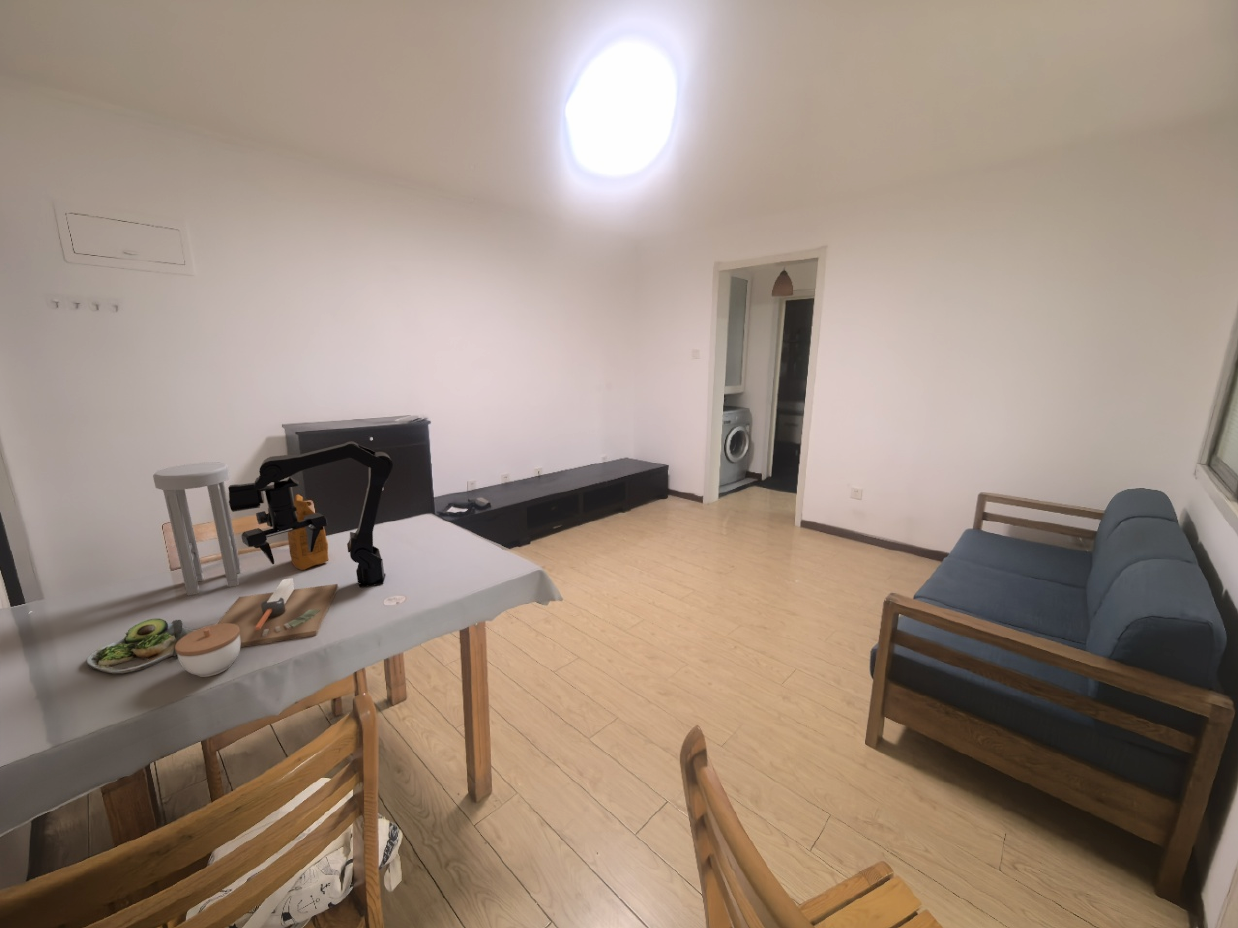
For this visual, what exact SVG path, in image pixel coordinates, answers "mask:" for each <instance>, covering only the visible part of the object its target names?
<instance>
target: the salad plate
mask: <svg viewBox="0 0 1238 928" xmlns="http://www.w3.org/2000/svg"><path fill="white" fill-rule="evenodd" d="M193 631H194V630H193V629H190V628H187V627H183V621H182V619H175V620H173V621H172V622H170V623H168V622H167V621H166V620H164V619H163V618H150V619H147V620H144V621H141V622H139V623H137V624H135V625H133V626H132V627H130V628H129V629H128V630H127V632H125V636H124V638H122V639H120V640H116V641H115V642H112V643H109V644H107V645H104V646H102V647H100V648H97V649H96V650H95V651H93V652H92V653H90V654H89V656H88V657H86V660H85V661H86V664H87V666H88V667H89V668H90V669H91V670H98V671H101V672H103V673H109V674H127V673H132V672H137V671H141V670H144V669H147V668H149V667H152V666H154V665H157V664H158V663H160V662H162V661H165V660H166V659H168V658H171V657H173V656H178V655H177V653H176V651H175V645H176V643H177V642H178V641H179V640H180V639H181V638H182V637H184V636H186V635H187V634H189V633H191V632H193ZM137 659H142V660H146V661H144V662H143V663H141V664H137V665H133V666H129V667H120V668H119V667H116V668H115V667H112V666H116V665H118V664H123V663H126V662H128V661H133V660H137Z"/></svg>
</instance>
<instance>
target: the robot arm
mask: <svg viewBox="0 0 1238 928" xmlns="http://www.w3.org/2000/svg"><path fill="white" fill-rule="evenodd" d="M346 459H353V460H354V461H357V462H358V463H361V464H362V465H364V466H365V467H368V483H367V489H366V492H365V497H364V502H363V506H362V510H361V514H360V520H359V523H358V527H357V529H356V530H355V532H353V531H350V532H349V539H348V542H347V544H346V545H347V552H348V553H349V556H350V559H351V560H352V561H353V562H355V563H357V568H356V571H355V572H356V579H357V583H358V587H359V588H364V587H372V586H373V587H374V586H379V585H383V584H384V582H385V578H386V575H387V574H386V573H385V570H384V563H383V562H384V561H383V558H382V556H381V551H380V549H379V548H378V547H376V546H374V528H375V524H376V520H377V514H378V512H379V506H380V502H381V498H382V494H383V488H384V486H385V484H386V482H387V481H388V480H389V478H390V475H391V473H392V471H393V468H394V464H393V461H392V459H391V457H390V456H389V454H387V452H384V451H374V450H372V449H370V448H368V447H365V446H363V445H360V444H358V443H357V442H355V441H346V442H345V443H342V444H337V445H332V446H330V447H326V448H320V449H318V450H312V451H308V452H305V453H300V454H290V455H289V454H285V455H283V454H282V455H273V456H269V457H267V458H265V459H264V460H263V461H262V463H261V465H260V467H259V476H258V477H256V479H254V480H255V481H254V482H250V483H243V484H242V483H241V484H230V485H229V486H228V497H229V499H228V506H229V509H230V510H231V512H232V513H233V512H234V513H235V512H242V511H249V510H254V509H260V507H261V505H262V504H265V497H266V502H267V507H268V508H267V512H268V513H267V512H266V511H258V512H256V513H255V516H256V520H257V524H258V525H263V524H266V525H267V526H268V527H270V529H265V530H262V529H261V528H259V527H258V528H254V529H249V530H246V531H243V532H242V534H241V536H240V537H241V540H242V543H243V544H245V545H246V546H247V547H248V548H252V547H253V548H255V549H260V550H261V551H262V553H263V554H264V555H265V557H266V558H267V559H268V561H269V562H270V563H271V565H275V558H274V555H273V551H272V549H271V546H270V542H268V541H267V540H268V538H269V537H273V536H276V535H282V534H285V533H288V531H292V530H296V529H299V528H303V527H305V529H306V532H307V540H308V548H309V551H310V552H313V548H314V545H315V542H316V539H317V537H318V535H319V532H320V530H323V529H325V527H327V526H328V525H329V521H328V518H327V516H325V515H324V514H322V513H320V512H314V514H310V515H306V516H305V517H304V520H302V521H298V519H297V515H296V511H297V509H296V507H295V505H294V500H295V499H294V496H293V492H292V488H294V487H295V488H296V487H298V486H299V483H300V482H299V480H297V479H295V478H293V477H292V476H294V475H295V474H297V473H300V472H302V471H304V470H307V469H312V468H315V467H319V466H323V465H327V464H331V463H335V462H339V461H342V460H343V461H344V460H346ZM272 483H273V484H272ZM270 484H271V485H270ZM264 493H265V494H264ZM264 495H265V496H264ZM323 526H324V528H323Z"/></svg>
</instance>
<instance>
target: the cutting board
mask: <svg viewBox="0 0 1238 928" xmlns="http://www.w3.org/2000/svg"><path fill="white" fill-rule="evenodd" d="M338 588H339V585H338V583H335V584H333V583H332V584H327V585H317V586H313V587H312V586H311V587H302V588H296V589H295V588H294V590H293V592H292V593H291V595H290V596H289V598H288V600H287V601H286V603H285V612H284V613H283V614H281V615H279V616H276V617H271V618H267V620H266V621H265V623H264V624H263V626H262V627H261V629H260V630H255V627H256V625H257V624H258V622H259V621H260V620H261V618H262V617H263V613H262V608H261V604H262V603H263V602H264V601H266V600H268V599H270V597H271V596H272V594H273V593H274V592H266V593H259V594H251V595H244V596H238V598H236V600H235V601H234V602H233V604H232V605H231V606H230V607H229V609H228V610H227V611H226V612H225V614H224V615H223V616H222V617H221V618H220V620H219V621H218V622H216V624H222V623H231V624H235V625H237V626H238V627H239V629H240V638H241V647H240V648H244V647H250V646H258V645H263V644H269V643H275V642H282V641H287V640H295V639H300V638H305V637H312V636H317V635H318V633H319V630H320V629H321V626H322V624H323V622H324V619H326V618H325V617H326V615H327V613H328V610H329V608H330V606H331V604H332V602H333V600H334V597H335V596H336V593H337V591H338Z"/></svg>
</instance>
